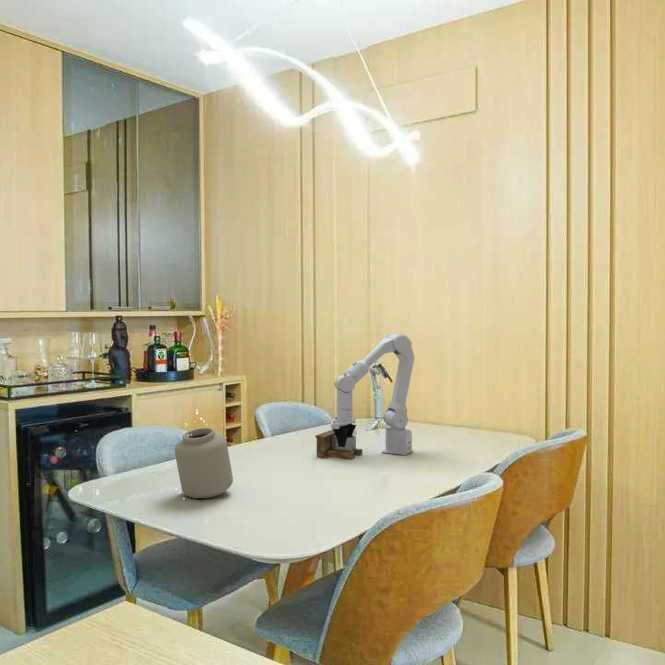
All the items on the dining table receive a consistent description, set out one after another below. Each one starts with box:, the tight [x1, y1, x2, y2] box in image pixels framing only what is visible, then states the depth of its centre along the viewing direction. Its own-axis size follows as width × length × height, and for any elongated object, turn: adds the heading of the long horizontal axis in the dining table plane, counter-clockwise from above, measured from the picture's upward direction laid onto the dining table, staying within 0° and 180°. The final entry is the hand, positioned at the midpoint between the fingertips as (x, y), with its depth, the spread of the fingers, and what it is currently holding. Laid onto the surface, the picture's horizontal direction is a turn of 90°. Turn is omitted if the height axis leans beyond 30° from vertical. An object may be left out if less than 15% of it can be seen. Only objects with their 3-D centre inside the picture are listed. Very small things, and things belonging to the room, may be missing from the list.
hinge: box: [330, 416, 357, 436], centre depth 275 cm, size 17×5×10 cm, turn 164°
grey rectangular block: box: [331, 435, 357, 453], centre depth 241 cm, size 8×4×6 cm, turn 63°
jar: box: [174, 409, 234, 500], centre depth 189 cm, size 19×15×25 cm
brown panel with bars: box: [315, 428, 363, 460], centre depth 241 cm, size 13×15×8 cm
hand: (344, 445), depth 241 cm, fingers closed on grey rectangular block, 4 cm apart
